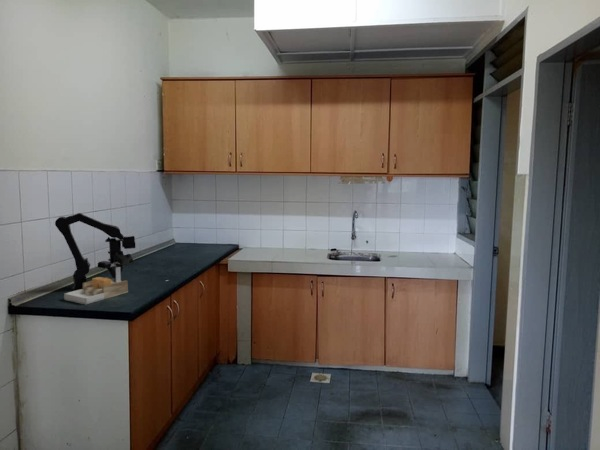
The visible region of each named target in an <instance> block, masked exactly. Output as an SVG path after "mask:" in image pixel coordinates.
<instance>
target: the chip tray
mask: <svg viewBox="0 0 600 450" xmlns="http://www.w3.org/2000/svg"><path fill="white" fill-rule="evenodd" d="M63 300H64V301H68V302H73V303H76V304H77V303H78V304H81V305H85V306H86V305H89V304H92V303H96V302H100V301H104V300H105V299H104V293H101V294H98V295H90V294H85V293H84V289H80V290H73V291H69V292H65V293H63Z"/></svg>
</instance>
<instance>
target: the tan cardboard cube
mask: <svg viewBox="0 0 600 450" xmlns="http://www.w3.org/2000/svg"><path fill="white" fill-rule="evenodd" d="M103 278H104V279H100V280H99V288H102V287H103V286H107V285H110V284H111V280H112V278H109V277H108V278H109V279H108V278H105V277H103Z"/></svg>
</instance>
